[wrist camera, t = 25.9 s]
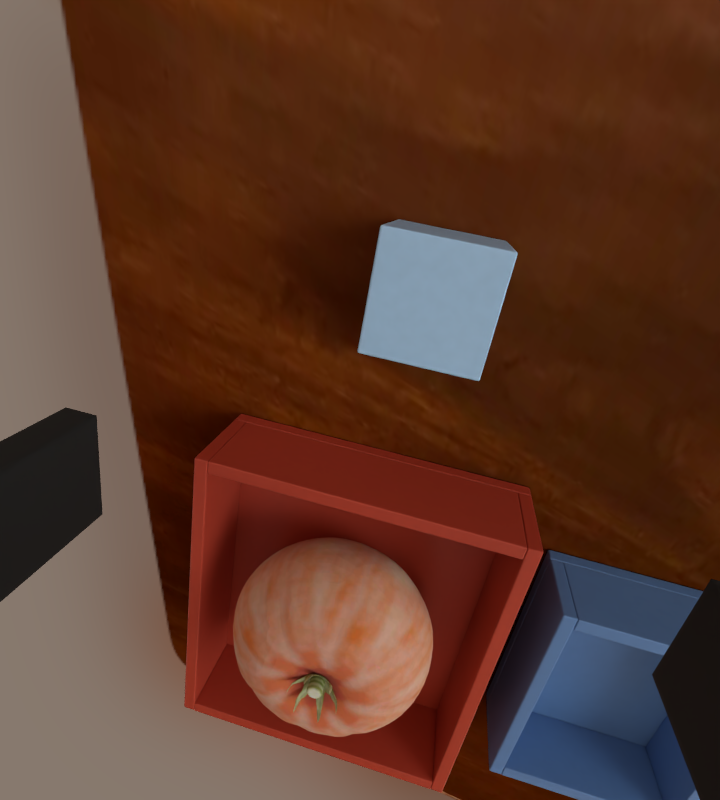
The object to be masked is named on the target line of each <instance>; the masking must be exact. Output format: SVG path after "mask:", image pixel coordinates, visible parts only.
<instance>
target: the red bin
mask: <svg viewBox="0 0 720 800" xmlns="http://www.w3.org/2000/svg"><path fill="white" fill-rule="evenodd" d="M315 538H342V539H348V540H352V541H356V542H359V543H362V544H365V545H367V546H369V547H371V548H373V549H376V550H377V551H379V552H381V553H383V554H385V555H386V556H387V557H389V558H390V559H392V560H393V561H394V562H396V563H397V564H398V565H399V566H400V567H401V568H402V569H403V570H404V571H405V572H406V573H407V575H408V576H409V577H410V578H411V580H412V581H413V583H414V584H415V586H416V587H417V589H418V591H419V593H420V595H421V597H422V598H423V600H424V602H425V605H426V607H427V610H428V613H429V616H430V619H431V624H432V630H433V651H432V658H431V664H430V668H429V672H428V675H427V678H426V681H425V683H424V686H423V687H422V689H421V691H420V693H419V695H418V696H417V698H416V699H415V700H414V702H413V703H412V705H411V706H410V707H409V708H408V709H407V710H406V711H405V712H404V713H403V714H402V715H401V716H400V717H398V718H397V719H395V720H394V721H392V722H391V723H389V724H387V725H385V726H384V727H381V728H379V729H377V730H374V731H371V732H368V733H360V734H351V735H348V736H345V737H334V736H328V735H323V734H317V733H313V732H310V731H308V730H306V729H304V728H302V727H300V726H298V725H294V724H291V723H288V722H285V721H283V720H282V719H280V718H279V717H278V716H276V715H275V714H274V713H273V712H272V711H270V710H269V709H268V708H267V707H266V706H264V705H263V704H262V702H261V701H260V700H259V699H258V697H257V696H256V694H255V693H254V691H253V689H252V688H251V687H250V686H249V685H248V684H247V682H246V681H245V679H244V678H243V676H242V675H241V672H240V669H239V667H238V663H237V659H236V654H235V649H234V638H233V623H234V615H235V609H236V605H237V601H238V598H239V596H240V593H241V591H242V589H243V587H244V585H245V583H246V582H247V580H248V579H249V577H250V576H251V575H252V574H253V572H254V571H255V570H256V569H257V568H258V567H259V566H260V565H261V564H262V563H263V562H264V561H265V560H266V559H268V558H269V557H270V556H272V555H273V554H275V553H276V552H278V551H280V550H281V549H283V548H285V547H287V546H290V545H292V544H295V543H298V542H301V541H305V540H310V539H315ZM542 555H543V548H542V543H541V539H540V534H539V529H538V525H537V520H536V516H535V511H534V507H533V502H532V497H531V493H530V488H528V487H525V486H521V485H517V484H513V483H509V482H505V481H501V480H497V479H494V478H490V477H486V476H482V475H478V474H474V473H470V472H466V471H462V470H459V469H455V468H451V467H447V466H443V465H439V464H435V463H431V462H427V461H424V460H420V459H416V458H412V457H408V456H404V455H400V454H396V453H392V452H389V451H385V450H381V449H377V448H373V447H369V446H365V445H361V444H357V443H354V442H350V441H346V440H342V439H338V438H334V437H330V436H326V435H322V434H319V433H315V432H311V431H307V430H303V429H299V428H295V427H291V426H287V425H284V424H280V423H276V422H272V421H268V420H264V419H260V418H256V417H252V416H249V415H245V414H240V415H239V416H238V417H237V418H236V419H235V420H234V421H233V422H232V423H231V424H230V425H229V426H228V427H227V428H226V429H225V430H224V431H222V432H221V433H220V434H219V435H218V436H217V437H216V438H215V439H214V440H213V441H212V442H211V443H210V444H209V445H208V446H207V447H206V448H205V449H204V450H203V451H202V452H200V453H199V454H198V455H197V456H196V457H195V460H194V484H193V509H192V533H191V557H190V582H189V606H188V631H187V655H186V682H185V704H184V706H185V707H187V708H190V709H193V710H194V709H195V711H198V712H201V713H204V714H207V715H210V716H213V717H216V718H219V719H222V720H225V721H228V722H231V723H234V724H237V725H240V726H243V727H246V728H249V729H252V730H255V731H258V732H261V733H264V734H267V735H270V736H273V737H276V738H279V739H282V740H285V741H288V742H291V743H294V744H297V745H300V746H303V747H306V748H309V749H312V750H315V751H318V752H321V753H324V754H327V755H330V756H333V757H336V758H339V759H342V760H345V761H348V762H351V763H354V764H357V765H360V766H363V767H366V768H369V769H372V770H375V771H378V772H381V773H384V774H387V775H390V776H393V777H396V778H399V779H402V780H405V781H408V782H411V783H414V784H417V785H420V786H423V787H426V788H429V789H430V788H431V789H432V790H435V791H438V792H442V790H443V788H444V786H445V783H446V781H447V778H448V776H449V774H450V771H451V769H452V767H453V764H454V762H455V760H456V757H457V755H458V753H459V750H460V748H461V746H462V743H463V741H464V739H465V736H466V734H467V732H468V729H469V727H470V724H471V722H472V720H473V717H474V715H475V713H476V710H477V708H478V706H479V703H480V701H481V699H482V696H483V694H484V692H485V689H486V687H487V685H488V682H489V680H490V677H491V675H492V673H493V670H494V668H495V666H496V663H497V661H498V659H499V656H500V654H501V652H502V649H503V647H504V645H505V642H506V640H507V638H508V635H509V633H510V631H511V628H512V626H513V623H514V621H515V619H516V616H517V614H518V612H519V609H520V607H521V605H522V602H523V600H524V598H525V595H526V593H527V591H528V588H529V586H530V584H531V581H532V579H533V577H534V574H535V572H536V569H537V567H538V565H539V562H540V560H541V558H542Z"/></svg>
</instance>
